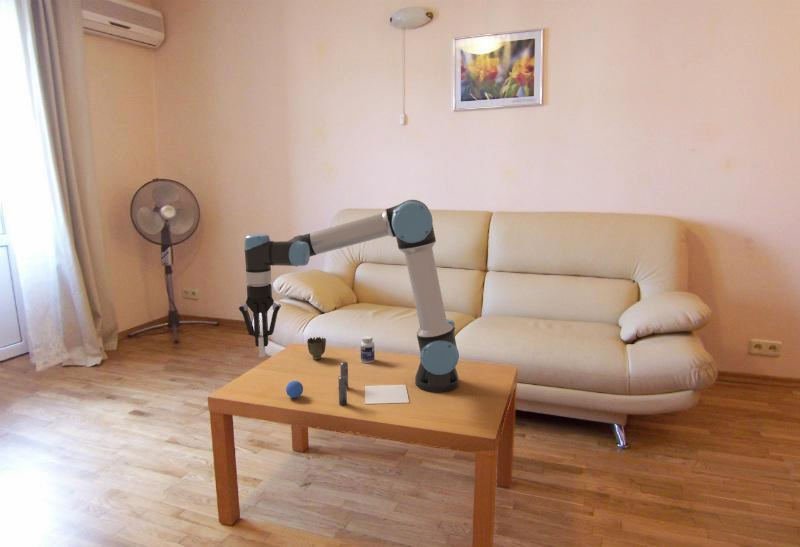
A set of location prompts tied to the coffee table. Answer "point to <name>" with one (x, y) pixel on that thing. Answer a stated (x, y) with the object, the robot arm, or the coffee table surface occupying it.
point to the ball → (294, 389)
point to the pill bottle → (367, 349)
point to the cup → (316, 347)
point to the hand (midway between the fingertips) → (262, 355)
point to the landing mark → (386, 394)
